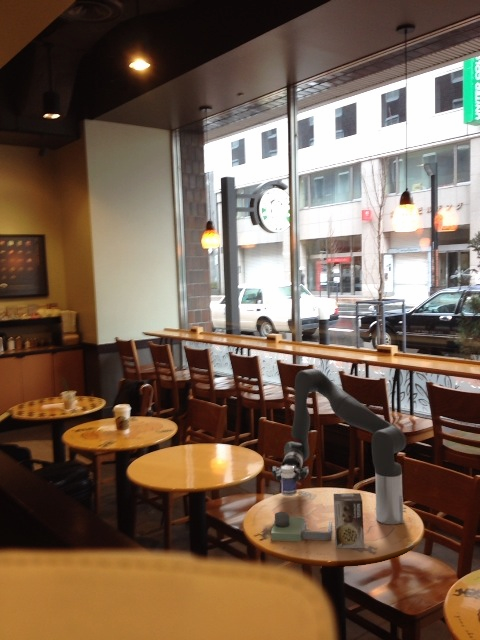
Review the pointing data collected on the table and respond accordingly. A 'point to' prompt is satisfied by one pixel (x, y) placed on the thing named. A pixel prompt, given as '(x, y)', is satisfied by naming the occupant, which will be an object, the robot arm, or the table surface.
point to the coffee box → (348, 520)
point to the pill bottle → (288, 481)
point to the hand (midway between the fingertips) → (287, 478)
